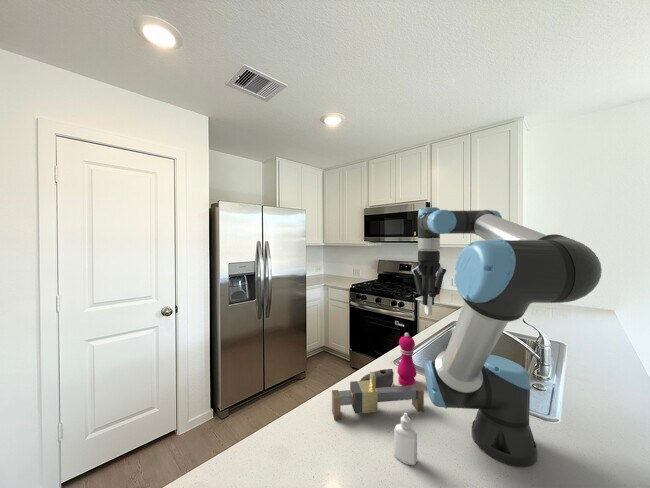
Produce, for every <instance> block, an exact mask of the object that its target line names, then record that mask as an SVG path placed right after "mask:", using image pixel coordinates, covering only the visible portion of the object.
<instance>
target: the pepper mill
mask: <svg viewBox="0 0 650 488" xmlns="http://www.w3.org/2000/svg"><path fill="white" fill-rule="evenodd" d="M415 344H416V342H415V339H414V338H413V337H411V336H410V334H409V332H405V333H404V335H403V336H401V337H400V338H399V341H398V346H399V347H400V348H399V350H400V351H399V353H401V360H400V361H399V364H398V366H397V371H396V373H397V374H398V383H399V384H400V386H407V385H412V384H416V379H415V378H416V377H417V369H416V366H415V364H414V360H413V355H414V348H416V347H415V346H416V345H415Z"/></svg>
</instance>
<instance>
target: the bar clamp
mask: <svg viewBox="0 0 650 488" xmlns="http://www.w3.org/2000/svg"><path fill="white" fill-rule="evenodd" d="M376 389H377V391H378V403H385V402H396V401H397V402H398V401H408V400H411V405H412V406H413V407H414V409H415V410H416V412H417V413H422V412H424V410H425V409H424V404H425V400H424V399H425V398H424V397H425V395H424V394H425V391H424V389H423V388H422V387H421V385H419V383H415V384H412V385H407V386H403V385H397V386H392V387H382V388H376ZM342 406H351V407H352V406H354V393H353V391H352V389H350V388H349V390H338V389H332V390H331V412H332V415H333V420H334V421H339V420H341V419H342V418H341V417H342V416H341V409H342V408H341V407H342Z"/></svg>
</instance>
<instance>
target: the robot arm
mask: <svg viewBox="0 0 650 488" xmlns="http://www.w3.org/2000/svg"><path fill="white" fill-rule="evenodd" d="M445 234H448V235H449V234H453V235H454V234H461V235H463V234H465V235H466V234H470V235H472V234H473V235H476V236H478V237H479V238H481V239H482V240H475V241H473V242H470V243H468V244H467V245H466V246H465V247H463V248H462V250H461V252H460V253H459V254H458V257H457V260H456V263H455V268H454V269H455V274H454V283H455V284H454V285H455V287H456V290H457V292H458V294H459V295H460V297H461V299H462V301H463V305H462V308H461V311H460V313H459V315H458V318H457V320H456V323H455V325H454V329H453V331H452V334H451V336H450V339H449V341H448V344H447V347H446V349H444V350H443V351H441V352H440V353H439V354H438V355H437V356H436V358H435V360H432V359H430V360H426V361H425V362H424V377H425V384H426V389H427V393H428V397H429V398H430V401H431V404H433V406H434V407H437V408H444V409H449V408H450V409H467V410H468V409H470V410H477V413H476V415H475V419H474V420H473V422H472V424H471V438H472V440H473V442H474V443H475V444H476V446H477V447H478V448H479V449H480V450H481V451H482V452H484V453H485V454H486V455H488V456H489V457H491V458H492V459H495V461H498V462H501V463H504V464H506V465H509V466H514V467H520V468H521V467H522V468H523V467H530V466H533V465H534V464H535V463H536V462H537V460H538V446H537V443H536V441H535V438H534V435H533V433H532V432H533V431H532V428H531V426H530V409H531V408H530V403H531V402H530V401H531V400H530V399H531V388H532V387H531V381H530V380H531V379H530V374H529V372H528V370H526V368H525V367H524V366H522V365H521V364H519V363H517V362H515V361H513V360H512V359H511V360H510V359H508V358H505V357H502V356H499V355H494V354H491V353H492V352H493V350H494V348H495V346H496V345H497V342H499V341H498V340H500V337H501V336H502V335H503V332H504V330H505V328H506V327H507V325H508V323H510V322H511V323H512V322H515V321H517V320H520V319H521V318H522V317H523V316H524V315H525V313H526V311H527V310H528V308H529V306H530V305H531V304H533V303H535V304H536V303H537V304H547V303H548V304H550V303H551V304H562V303H570V302H574V301H577V300H579V299H582V298H584V297H586V296H587V295H589V294H590V293H592V291H594V290H595V288H596V287H597V286H598V284H599V282H600V281H601V277H602V263H601V262H600V261H601V260H600V259H599V257H598V256H597V254H596V252H595V251H593V249H592V248H591V247H588V246H587V245H585V244H584V243H582V242H579V241H577V240H575V239H573V238H570V237H568V236H564V235H562V234H557V233H551V234H545V233H542V232H539V231H537V230H534V229H532V228H528V227H526V226H524V225H521V224H518V223H516V222H513V221H510V220H508V219H506V218H503V217H502V215H501V213H500V212H499V211H498V210H492V209H482V210H481V209H480V210H479V209H478V210H448V209H440V208H439V207H435V206H434V207H432V206H431V207H421V208H419V209H418V215H417V249H418V251H417V264H416V267H415V268H411V269H410V271H411V273H412V275H413V279H414V283H415V284H414V285H415V289H416V292H417V295H420V296H422V305H423V306H424V314H426V315H427V316H431V315H433V306H435V298H436V297H437V296H438V295H440V293H441V288H442V284H443V281H444V275H445V274H446V273H447V269H446V268H443V267H442V266H441V264H440V263H441V262H440V261H441V257H440V256H441V252H440V251H439V250H440V249H441V235H445ZM420 274H421V275H420Z"/></svg>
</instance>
